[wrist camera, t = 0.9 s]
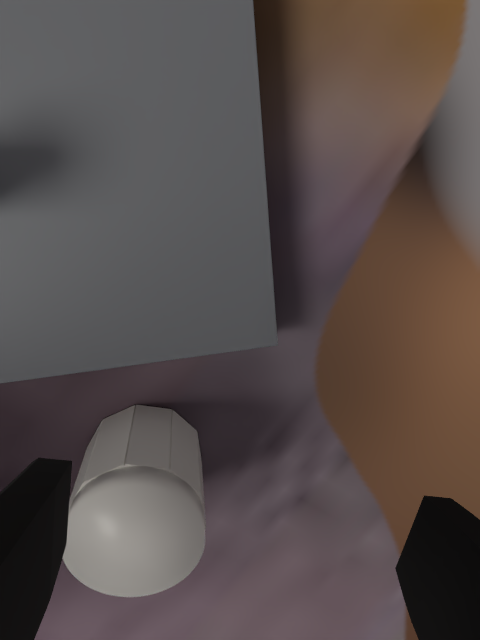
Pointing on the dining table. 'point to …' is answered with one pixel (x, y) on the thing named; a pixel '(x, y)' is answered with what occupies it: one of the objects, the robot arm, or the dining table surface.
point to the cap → (137, 504)
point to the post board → (130, 185)
